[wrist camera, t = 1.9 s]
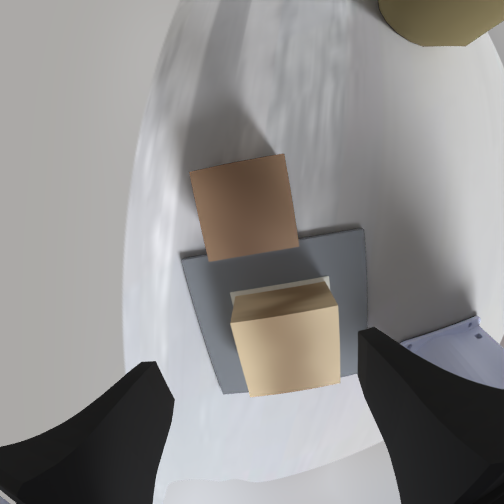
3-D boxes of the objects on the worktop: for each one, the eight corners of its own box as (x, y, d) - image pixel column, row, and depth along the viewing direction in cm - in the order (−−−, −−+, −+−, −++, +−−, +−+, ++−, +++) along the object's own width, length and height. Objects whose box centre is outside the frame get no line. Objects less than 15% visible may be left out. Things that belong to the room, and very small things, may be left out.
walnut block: (278, 158, 17) (284, 153, 12) (289, 227, 18) (299, 246, 14) (206, 171, 17) (189, 172, 13) (220, 239, 18) (209, 261, 14)
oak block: (325, 281, 18) (338, 305, 15) (330, 352, 20) (340, 382, 16) (235, 296, 19) (230, 323, 15) (251, 365, 20) (250, 397, 17)
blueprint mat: (361, 228, 18) (364, 229, 17) (363, 367, 21) (365, 372, 20) (183, 258, 19) (181, 261, 18) (223, 390, 22) (222, 395, 21)
